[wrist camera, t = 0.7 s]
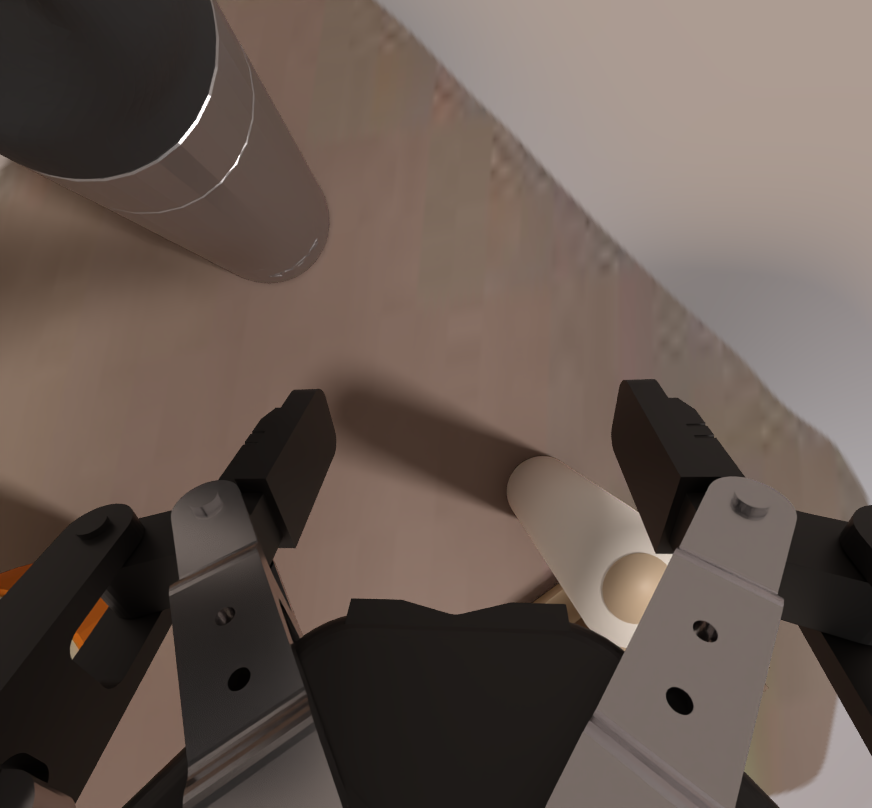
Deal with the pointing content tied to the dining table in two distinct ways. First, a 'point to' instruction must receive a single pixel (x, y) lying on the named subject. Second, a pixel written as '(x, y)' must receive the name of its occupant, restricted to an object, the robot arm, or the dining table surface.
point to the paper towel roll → (588, 544)
